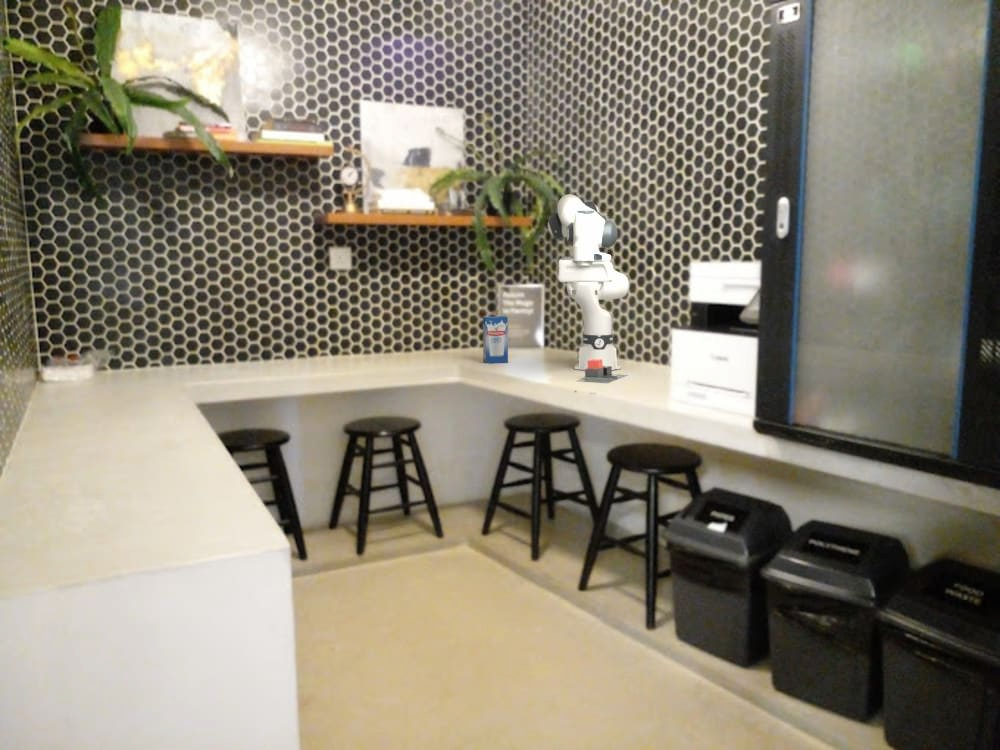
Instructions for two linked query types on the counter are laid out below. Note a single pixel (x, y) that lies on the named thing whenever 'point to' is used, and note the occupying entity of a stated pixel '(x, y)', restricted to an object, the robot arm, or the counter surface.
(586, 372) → the breaker
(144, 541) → the counter surface
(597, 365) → the red block
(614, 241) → the robot arm
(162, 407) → the counter surface
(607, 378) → the panel
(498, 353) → the milk carton
